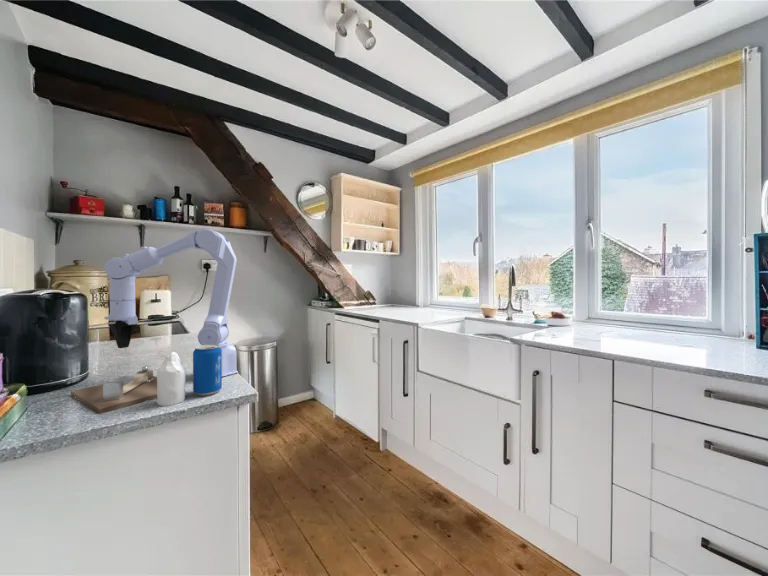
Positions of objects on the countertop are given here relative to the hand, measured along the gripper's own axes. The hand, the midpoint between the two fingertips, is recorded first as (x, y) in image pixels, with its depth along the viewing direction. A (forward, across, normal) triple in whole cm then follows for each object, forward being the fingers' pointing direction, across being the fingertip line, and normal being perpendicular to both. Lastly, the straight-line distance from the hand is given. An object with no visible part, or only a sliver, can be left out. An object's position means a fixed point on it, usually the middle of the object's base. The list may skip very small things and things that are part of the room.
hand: (123, 347), depth 91 cm
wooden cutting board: (+9, +14, -4) cm, 17 cm away
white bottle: (+10, +29, 0) cm, 31 cm away
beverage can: (+10, +30, +8) cm, 32 cm away
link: (+8, +13, -2) cm, 15 cm away
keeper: (+8, +14, -3) cm, 16 cm away
